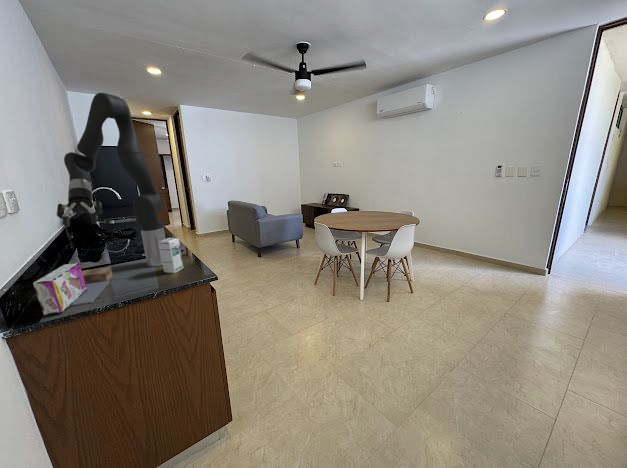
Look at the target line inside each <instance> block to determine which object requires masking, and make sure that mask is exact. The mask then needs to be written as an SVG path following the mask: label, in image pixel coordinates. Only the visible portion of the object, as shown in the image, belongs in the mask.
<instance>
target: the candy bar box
mask: <svg viewBox="0 0 627 468" xmlns="http://www.w3.org/2000/svg"><path fill="white" fill-rule="evenodd" d="M82 271H83V270H82V267H81V264H80V262H77V263H68V264H63V265H61V266H59V267H57V268H55V269H54V270H53V271H51V272H49V273H47V274H46V275H44V276H42V277H41V278H39V279H37V280H35V281H34V282H33V283H32V284H33V285H32V286H33V287H34V290H35V293H36V295H37V296H36V297H37V299H38V302H39V304H40V307H41V311H42V313H43V315H44V316H45V315H50V314H56V313H58V314H59V313H63V312H64V311H65V310H66V309H67V308H69V307H68V306H70V305H71V304H72V303H73V302H74V301H75V300H76V299H78V298H79V297H80V296H81V295H82V294H83V293H84V292H86V291H87V287H86V284H85V280H84V277H83V274H82Z"/></svg>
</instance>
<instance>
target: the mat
mask: <svg viewBox="0 0 627 468" xmlns="http://www.w3.org/2000/svg"><path fill="white" fill-rule="evenodd" d="M108 284H110V280H108V281H103V282H96V283H90V284H86V287H87V291H86V292H84V293H83V294H82V295H81V296H80V297H79V298H78V299H76V300H75V301H74V302H73V303H72V304H71V305H70V306H68V307H67V308H69V307H77V306H83V305H87V304H88V305H89V304H92V303H93V302H94V301H95V300H96V299H97V297H98V296H100V294H101V293H102V292H103V290H105V288H106V287H107V286H108Z"/></svg>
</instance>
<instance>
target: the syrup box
mask: <svg viewBox="0 0 627 468" xmlns="http://www.w3.org/2000/svg"><path fill="white" fill-rule="evenodd" d="M158 243H159V248H160V253H161V258H162V263H163V265H162V269H163V272H164V273H167V274H168V273H170V274H176V273H177V272H179V271H181V270H183V269H184V268H185V267H184V262H183V256H182V255H183V254H182V250H181V245H180V239H179V238H178V237H177V238H176V237H167V238H165V240H162V241H159V242H158Z"/></svg>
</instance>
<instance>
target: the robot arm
mask: <svg viewBox="0 0 627 468" xmlns="http://www.w3.org/2000/svg"><path fill="white" fill-rule="evenodd" d="M107 119H113V120H114V121H115V124H116V127H117V129H118V133H119V134H118V140H117V146H116V154H117V157H118V158H119V162H120V165H121V167H122V168H123V170H124V172H125V173H127V175H128V176H129V177H130V178H131V180H132V181H133V182H134V183H135V185H136V187H137V189H138V192H139V194H140V195H138V196H136V197H135V198H134V199H133V204H132V207H133V213H134V216H135V221H136V224H137V225H138V226H139V228H140V234H141V237H142V244H143V245H142V246H143V249H144V254H145V259H146V264H147V266H149V267H158V266H163V263H162V258H161V253H160V248H159V243H158V242H159V241H162V240H165V239H166V234H165V229H164V223H163V221H161V220H159V218H158V215H157V214H158V213H159V212H160V211H161V210H162V209H163V200H162V198H161V196H160V194H159V191H158V190H157V188H156V186H155V183H154V182H153V178H152V176H151V172H150V169H149V167H148V165H147V161H146V159H145V155H144V153H143V150H142V148H141V145H140V142H139V139H138V136H137V133H136V131H135V126H134V123H133V122H134V121H133V117H132V114H131V110H130V108H129V105H128V103H127V102H126V100H124V98H122V97H121V96H118V95H115V94H111V93H110V94H109V93H107V92H98V93H96V94H95V95H94V96H93V98H92V100H91V105H90V108H89V112H88V117H87V122H86V125H85V129H84V131H83V133H82V135H81V137H80V139H79V142H78V143H77V145H76V149H77V151H78V152H79V153H76V152H72V151H71V152H68V153H66V154H65V155H64V157H63V161H64V166H65V168H66V170H67V173H68V176H69V178H68V179H69V181H68V182H69V183H68V188H67V189H68V193H67V194H68V196H67V197H68V198H67V201H68V203H66V204H62V203H58V204H57V210H56V216H57V217H58V218H59V220H62V224H63V225H64V226H65V227H66V228H69V227H70V224H71V218H72V217H74V216H75V215H76V214H82V213H83V214H84V213H85V214H86V213H87V212H88V213H90V221H91V223H92V224H93V225H94V224H96V223H97V222H98V215H103V206H102V205H103V204H102V203H101V201H100V199H96V200H95V201H93V188H92V176H91V174H90V173H92V172H94V171H95V169H96V166H97V165H96V164H97V163H96V161H97V156H98V153H99V152H100V149H101V148H102V145H104V134H103V125H104V123H105V122H106V121H107ZM94 206H95V208H96V210H94V209H93V207H94Z"/></svg>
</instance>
